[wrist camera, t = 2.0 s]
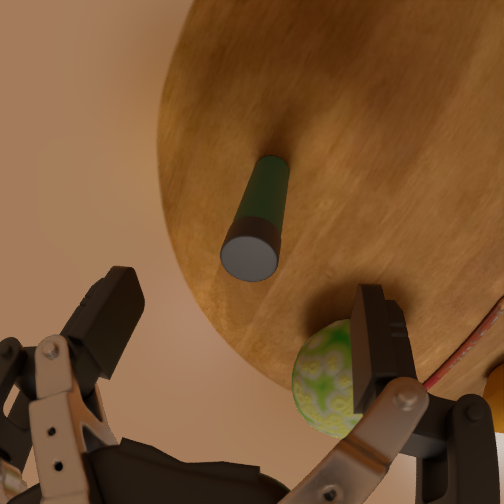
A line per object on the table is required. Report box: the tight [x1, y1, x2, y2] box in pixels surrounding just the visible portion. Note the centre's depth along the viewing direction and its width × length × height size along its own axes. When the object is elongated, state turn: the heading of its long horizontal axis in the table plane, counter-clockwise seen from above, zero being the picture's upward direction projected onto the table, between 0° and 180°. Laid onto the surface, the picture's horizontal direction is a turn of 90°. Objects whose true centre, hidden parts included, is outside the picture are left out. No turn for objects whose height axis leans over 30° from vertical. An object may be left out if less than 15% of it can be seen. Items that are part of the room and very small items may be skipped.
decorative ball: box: [292, 319, 363, 438], centre depth 23 cm, size 10×10×10 cm
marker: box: [220, 156, 289, 282], centre depth 16 cm, size 2×2×9 cm
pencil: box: [423, 297, 504, 390], centre depth 27 cm, size 19×1×1 cm, turn 169°
